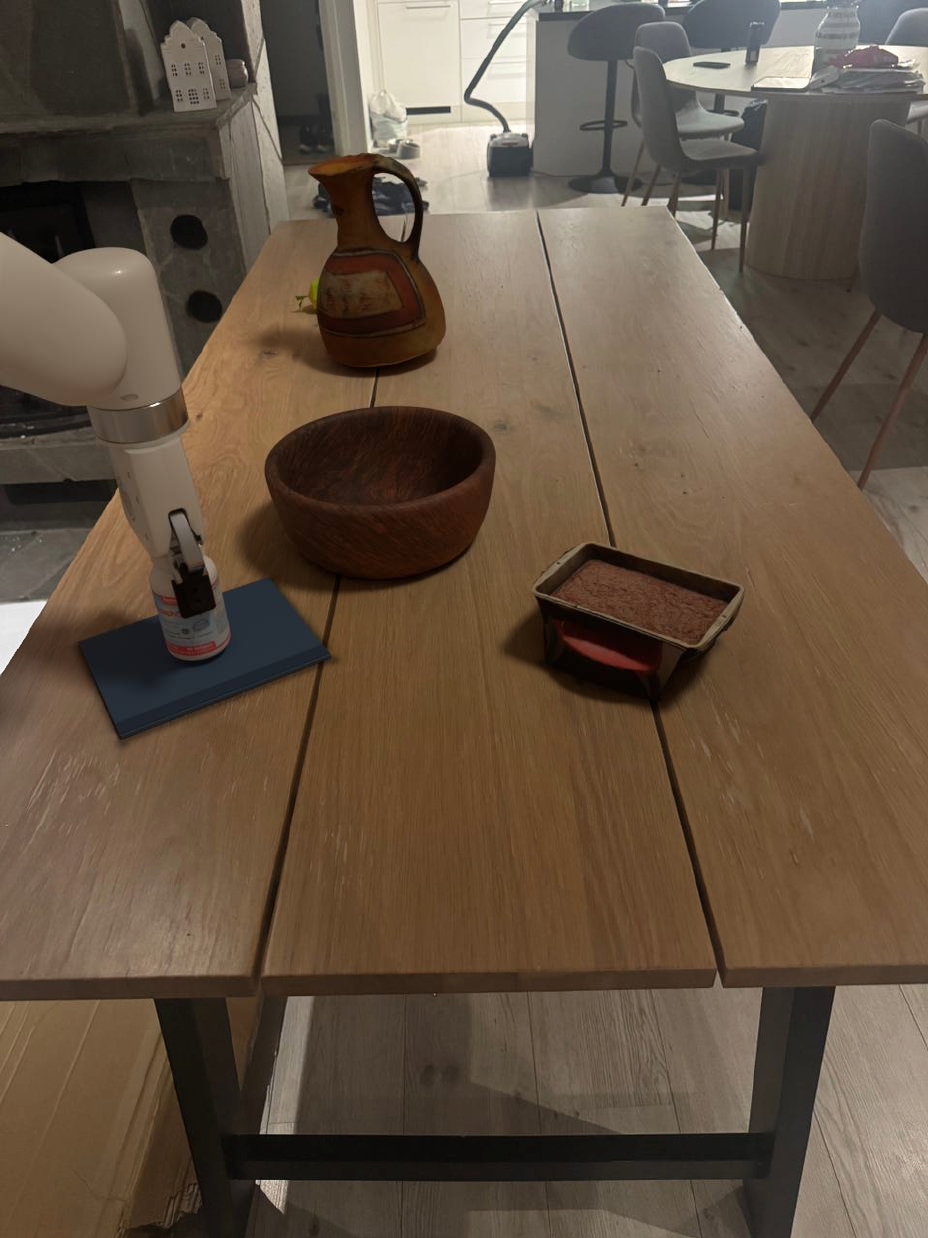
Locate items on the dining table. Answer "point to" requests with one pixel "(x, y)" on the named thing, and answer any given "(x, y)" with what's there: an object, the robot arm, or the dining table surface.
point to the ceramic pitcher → (374, 272)
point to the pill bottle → (194, 633)
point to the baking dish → (629, 616)
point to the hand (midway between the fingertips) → (186, 592)
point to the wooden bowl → (382, 489)
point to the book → (171, 687)
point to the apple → (311, 294)
